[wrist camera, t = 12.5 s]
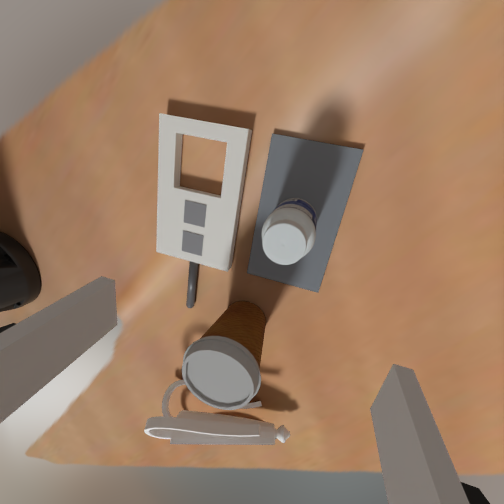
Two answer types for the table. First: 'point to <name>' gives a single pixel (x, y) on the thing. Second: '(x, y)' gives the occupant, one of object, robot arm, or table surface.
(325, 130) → the table surface
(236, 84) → the table surface
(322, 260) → the rubber mat
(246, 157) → the socket strip
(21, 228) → the table surface
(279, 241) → the pill bottle
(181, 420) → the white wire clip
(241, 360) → the disposable coffee cup
